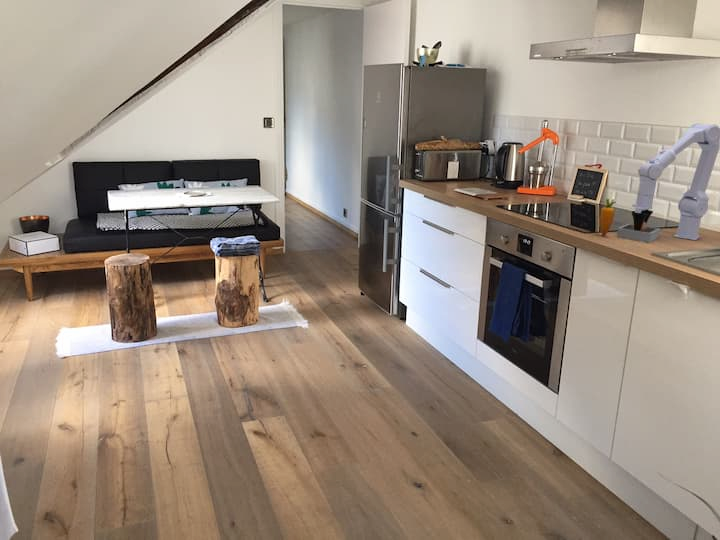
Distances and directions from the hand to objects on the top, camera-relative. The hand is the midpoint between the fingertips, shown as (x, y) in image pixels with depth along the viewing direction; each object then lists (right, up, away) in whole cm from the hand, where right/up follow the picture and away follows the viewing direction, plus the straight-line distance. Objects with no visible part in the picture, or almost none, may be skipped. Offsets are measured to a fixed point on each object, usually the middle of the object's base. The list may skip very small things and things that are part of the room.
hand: (639, 229), depth 234 cm
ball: (0, +1, 0) cm, 1 cm away
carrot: (-14, -3, -1) cm, 15 cm away
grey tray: (0, -3, +1) cm, 3 cm away
